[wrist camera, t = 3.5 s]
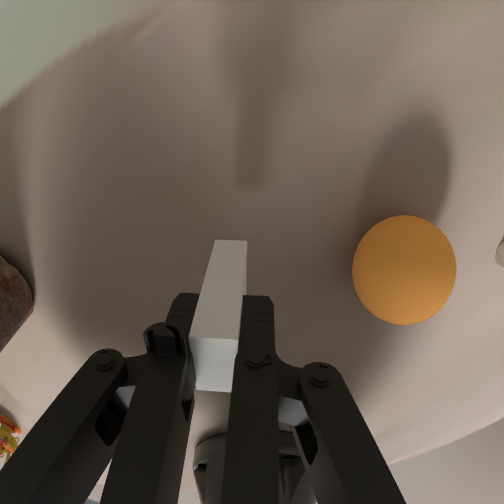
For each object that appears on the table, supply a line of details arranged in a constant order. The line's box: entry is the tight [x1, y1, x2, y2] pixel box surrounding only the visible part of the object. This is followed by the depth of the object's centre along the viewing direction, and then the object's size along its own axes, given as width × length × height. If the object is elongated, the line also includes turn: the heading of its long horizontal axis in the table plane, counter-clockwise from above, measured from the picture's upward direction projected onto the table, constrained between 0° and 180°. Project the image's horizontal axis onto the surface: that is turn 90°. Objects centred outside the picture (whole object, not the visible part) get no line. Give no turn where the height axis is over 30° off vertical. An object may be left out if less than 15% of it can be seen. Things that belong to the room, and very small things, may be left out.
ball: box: [352, 215, 456, 325], centre depth 16 cm, size 6×6×6 cm
